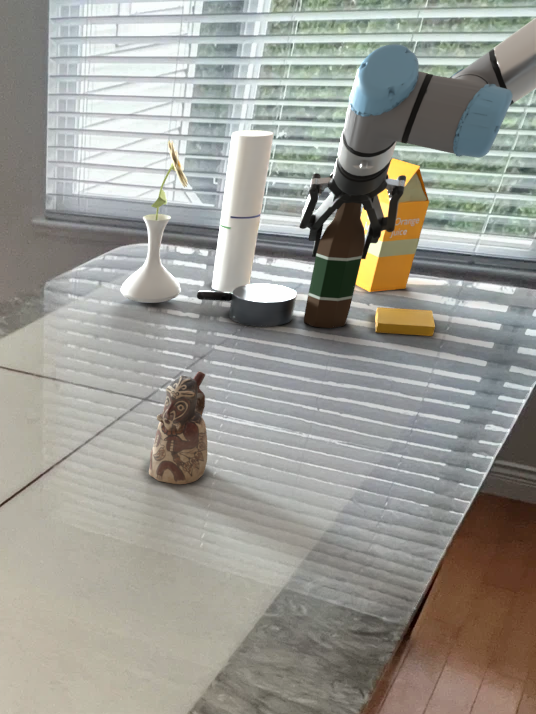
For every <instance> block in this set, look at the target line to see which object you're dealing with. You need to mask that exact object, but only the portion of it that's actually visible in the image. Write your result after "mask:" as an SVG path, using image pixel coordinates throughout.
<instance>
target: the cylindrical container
mask: <svg viewBox="0 0 536 714" xmlns="http://www.w3.org/2000/svg"><path fill="white" fill-rule="evenodd" d="M274 134H275V133H274V132H273V131H269V130H260V129H245V130H236V131H233V132H232V133H231V139H230V146H229V152H228V153H229V154H228V162H227V169H226V175H225V184H224V192H223V200H222V205H221V206H222V207H221V214H220V221H219V231H218V235H217V236H218V237H217V245H216V253H215V258H214V267H213V273H212V274H213V275H212V283H211V288H212V289H213V290H215V291H216V292H230V293H232V292H233V290H234V289H235V288H237V287H240V286H244V285H250V284H251V277H252V271H253V265H254V259H255V253H256V246H257V242H258V241H257V240H258V236H259V235H258V234H259V228H260V223H261V221H260V220H261V214H262V208H263V203H264V196H265V190H266V185H267V178H268V171H269V167H270V165H269V164H270V159H271V153H272V147H273V140H274Z"/></svg>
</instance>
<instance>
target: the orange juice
mask: <svg viewBox="0 0 536 714" xmlns="http://www.w3.org/2000/svg"><path fill="white" fill-rule="evenodd" d="M387 174H388V176H389V178H390V179H395V180H396V179H397V178H398V177H399V176H401V175H405V176H406V182H405V187H404V192H403V195H402V196H401V198H400V199H399V204H398V212H397V218H396V223H395V228H394V231H393V232H387V231H386V230H384V231H382V232H381V236H380V238H379V240H378V242H377V243H370V246H369V249H368V252H367V255H366V259H361V263H360V267H359V272H358V276H357V280H356V284H355V286H357V287H359V288H361V289H363V290H365V291H367V292H369V293H373V292H384V291H395V290H404V289H407V284H408V281H409V278H410V274H411V271H412V270H411V269H412V266H413V263H414V260H415V256H416V253H417V250H418V245H419V241H420V237H421V233H422V230H423V227H424V223H425V220H426V216H427V212H428V208H429V204H430V200H429V196H428V193H427V190H426V186H425V182H424V179H423V176H422V171H421V166H420V165H417V164H413V163H411V162H407V161H404V160H400V159H396V158H392V159H391V163H390V166H389V169H388V172H387ZM387 192H388V190H387V189H385V190H384V191H382V192H381V193H379V194H378V198H379V202H380V205H381V208H382V211H383V215H384V217H388V209H389V202H390V198H389V194H388V193H387ZM361 221H362V224H363V227H364V231H365V237H366V234H367V231H368V227H369V224H370V221H369V218H368V215H367V212H366V210H364V208H363V207H362V208H361Z"/></svg>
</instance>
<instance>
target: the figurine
mask: <svg viewBox="0 0 536 714" xmlns="http://www.w3.org/2000/svg"><path fill="white" fill-rule="evenodd" d="M205 377H206V374H205V373H204V372H202V371H201V370H200V371H197V373H195V375H194V376H193V377H191V376H189V375H180V376H178V377H176V378H175V379H174V380H173V382H171V383H170V384H169V385H168V386H167V387H166V388H165V393H166V395H165V400H164V405H163V409H162V412H161V413H159V414H157V416H156V420H157V421H158V422H159V423H158V426H157V429H156V432H155V436H154V437H155V438H154V441H153V445H152V448H151V451H150V456H149V469H148V474H149V476H150V477H152V478H154V479H155V480H156V481H158V482H164V483H167V484H173V485H186V484H190V483H194V482H196V481H198V480H199V479H200V478H201V477H203V475H204V474H205V471H206V467H207V466H206V465H207V462H208V433H207V425H206V422H205V419H204V418H203V413H204V410H205V406H206V395H205V393H204V392H203V391H202V389H201V384H202V382H203V380H204V379H205Z"/></svg>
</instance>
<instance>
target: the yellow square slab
mask: <svg viewBox="0 0 536 714" xmlns="http://www.w3.org/2000/svg"><path fill="white" fill-rule="evenodd" d="M374 315H375V316H374V321H375V333H381V334H394V335H408V336H409V335H410V336H422V337H423V336H425V337H433V336H434V333H435V329H436V324H435V319H434V313H433V310H431V309H416V308H415V309H414V308H398V307H384V306H383V307H382V306H381V307H380V306H377V308H376V311H375V314H374Z"/></svg>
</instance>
